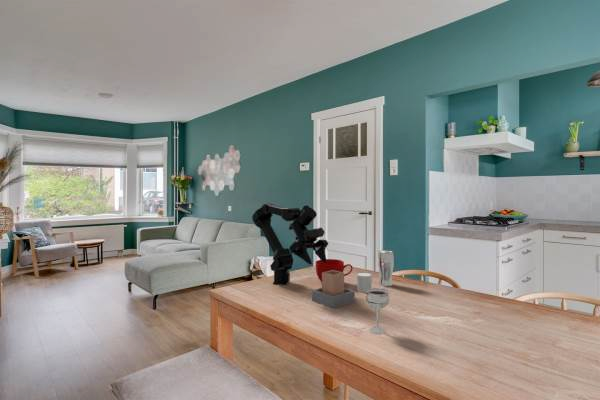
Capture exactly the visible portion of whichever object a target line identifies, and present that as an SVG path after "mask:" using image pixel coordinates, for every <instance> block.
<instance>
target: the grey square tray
mask: <svg viewBox="0 0 600 400" xmlns="http://www.w3.org/2000/svg"><path fill="white" fill-rule="evenodd" d="M355 295H356V292H355V290H353V289H350V288H346V287H344V293H343V294H340V295H337V296H330V295H327V294H324V293H322V287H320V288H316V289H313V290H311V301H312V302H315V303H318V304H320V305H323V306H326V307H329V308H332V309H336V308H339V307H341V306H345V305H348V304H351V303H355V300H356V299H355Z"/></svg>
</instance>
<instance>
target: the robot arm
mask: <svg viewBox="0 0 600 400" xmlns="http://www.w3.org/2000/svg"><path fill="white" fill-rule="evenodd" d="M273 215H276V216H280V217H281V219H282V220H284V221H286V222H292V223H289V227H288V230H289V231H291V230H293V233H294V234H295V241H294V242H292V244H290V246H289V248H284V247H283V245H282V244H281V242H280V239H279V238H278V236H277V234H276V232H275V231H274V229H273V227H272V225H271V224H272V223H271V222H272V217H273ZM317 215H318V214H317V212H316V210H314V209H313V208H312V207H309V205H304V206H303V207H302V208H301V209H300V208H299V207H284V206H281V205H277V204H274V203H264V204H262V206H260V208H258V209H256V210H255V212H254V213H253V214H252V216H251V218H252V221H253V223H254V225H255V226H256V227H257V228H258V229H260V230H261V231H262V232H263V235H264V237H265V239H266V241H267V243H268V245H269V246H270V248H271V250H272V253H273V254H272V255H273V256H272V260H273V261H272V263H271V264H270V265H269V266H270V270H271V271H273V282H272V284H273V285H285V286H286V285H288V284H289V283H291V272H290V270H292V267H293V264H294V257H293V254H294V255H295V256H297V257H298V258H300V259H301V260H303V261H304V262H306V263H307V264H308V265H311V266H312V264H313V263H312V259H311V257H310V255H309V253H308V249H312V250H313V251H314V254H315V255H316V256H317V257H318V258H319V260H322V261H323V262H324V263H326V262H327V261H326V259H327V256H326V248H327V247H328V245H329V242H328V241H327V239H318V238H321V237H324V236H325V233H326V232H325V229H323V228H322V227H317V228H313V229H308V227H307V226H310V225H311V224H312V222H313V221H314V219H316V217H317Z"/></svg>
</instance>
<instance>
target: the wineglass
mask: <svg viewBox="0 0 600 400" xmlns="http://www.w3.org/2000/svg"><path fill="white" fill-rule="evenodd" d="M389 292H390V291H389V290H388V289H385V288H380V287H379V288H377V287H371V289H368V290H367V295H366V296H365V299H366V302H367V304H368V305H369V306H370V307H371V308H373V309H374V310H376V311H375V312H376V326H373V327H370V328H369V329H368V330H369V332H370V333H371V334H375V335H383V334H385V333H387V330H386V329H385V328H383V327H379V321H380V320H379V319H380V310H381V309H384V308H386V306H388V304H389V302H390V296H389Z"/></svg>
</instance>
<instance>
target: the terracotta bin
mask: <svg viewBox="0 0 600 400" xmlns="http://www.w3.org/2000/svg"><path fill="white" fill-rule="evenodd" d="M344 274H345V272H344V271H343V272H339V271H335V270H331V271H327V272H322V282H321V284H322V285H321V288H322V293H324V294H327V295H330V296H337V295H340V294H343V293H344V288H345V276H344Z"/></svg>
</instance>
